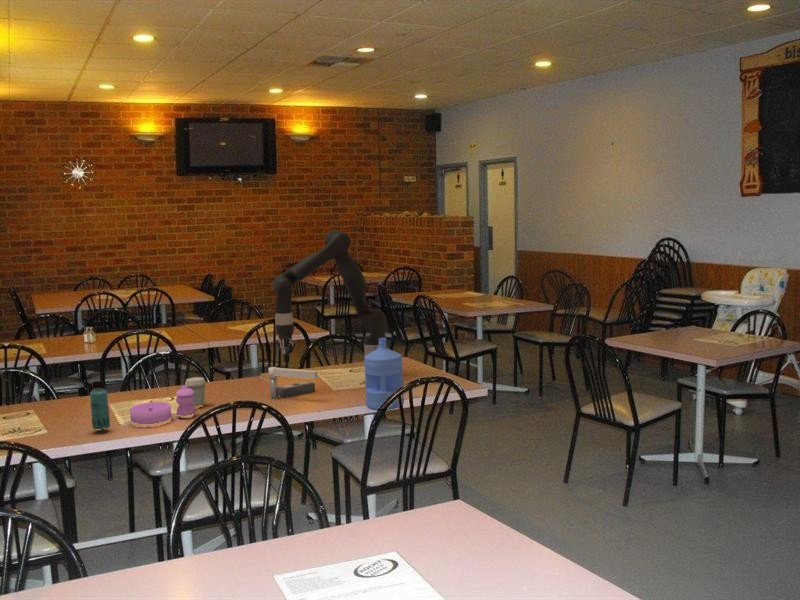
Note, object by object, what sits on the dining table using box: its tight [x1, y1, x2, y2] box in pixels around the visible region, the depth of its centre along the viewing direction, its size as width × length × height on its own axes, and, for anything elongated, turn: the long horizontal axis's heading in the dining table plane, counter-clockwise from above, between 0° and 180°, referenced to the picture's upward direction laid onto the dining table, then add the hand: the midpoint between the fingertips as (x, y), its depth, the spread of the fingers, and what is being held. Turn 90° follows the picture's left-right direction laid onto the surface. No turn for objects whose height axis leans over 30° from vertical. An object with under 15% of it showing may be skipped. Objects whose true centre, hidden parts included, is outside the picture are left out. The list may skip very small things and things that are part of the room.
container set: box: [129, 384, 197, 424], centre depth 314 cm, size 25×15×13 cm, turn 114°
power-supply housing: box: [277, 380, 316, 399], centre depth 349 cm, size 16×6×4 cm, turn 129°
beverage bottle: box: [89, 379, 111, 429], centre depth 301 cm, size 6×7×20 cm
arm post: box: [269, 377, 279, 400], centre depth 342 cm, size 3×3×9 cm
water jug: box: [363, 337, 405, 411], centre depth 323 cm, size 16×16×28 cm
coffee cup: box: [184, 376, 207, 406], centre depth 333 cm, size 8×8×12 cm
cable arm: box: [268, 366, 319, 380], centre depth 336 cm, size 24×4×4 cm, turn 64°
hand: (286, 362), depth 345 cm, fingers closed
